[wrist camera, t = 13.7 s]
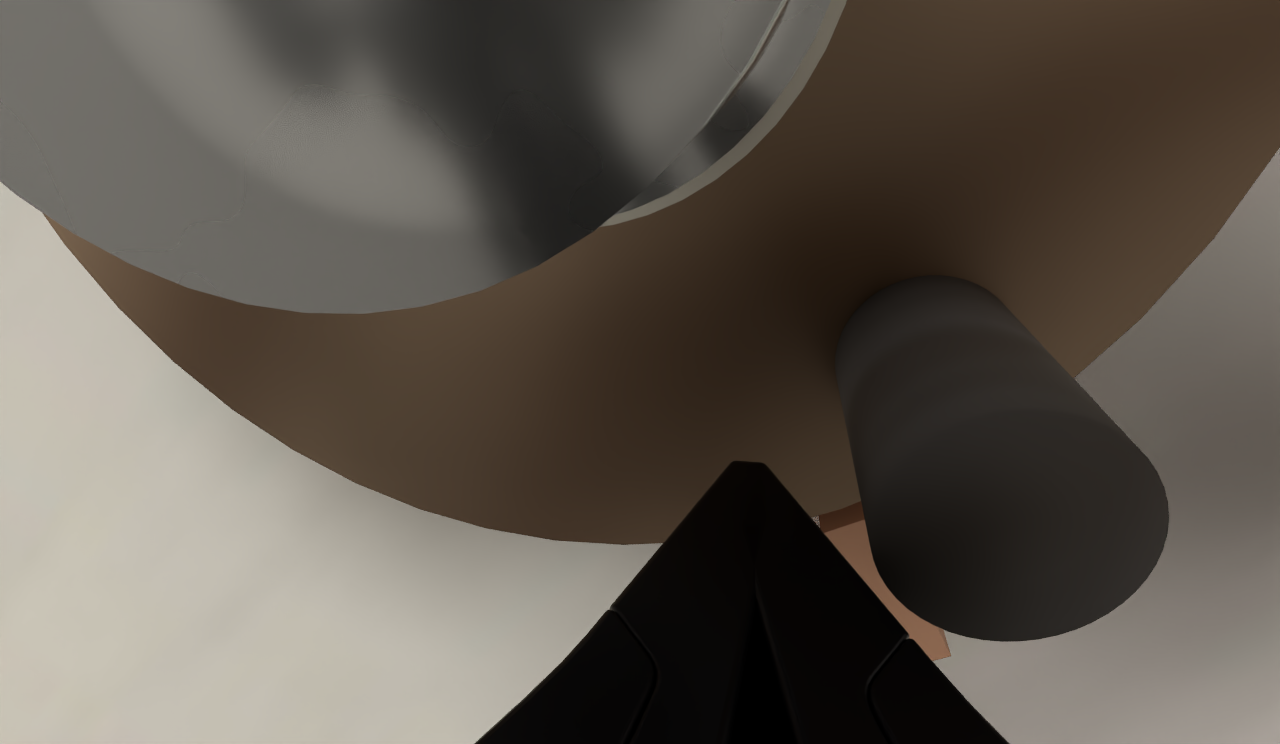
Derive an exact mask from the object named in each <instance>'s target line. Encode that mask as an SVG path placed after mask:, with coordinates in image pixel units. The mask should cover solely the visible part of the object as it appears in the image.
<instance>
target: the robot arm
mask: <svg viewBox="0 0 1280 744" xmlns="http://www.w3.org/2000/svg"><path fill="white" fill-rule="evenodd" d="M909 638H910V636H909V634H908V632H907V631H906V630H905V629H904V628H903V626H902V625H901V624H900V623H899V622H898V620H897V619H896V618H895V617H894V616H893V614H892V613H891V612H890V611H889V610H888V609H887V607H886V606H885V605H884V604H883V603H882V601H881V600H880V599H879V598H878V597H877V595H876V594H875V593H874V592H873V591H872V590H871V588H870V587H869V586H868V585H867V584H866V582H865V581H864V580H863V579H862V578H861V576H860V575H859V574H858V573H857V572H856V571H855V569H854V568H853V567H852V566H851V565H850V563H849V562H848V561H847V560H846V559H845V557H844V556H843V555H842V554H841V553H840V552H839V550H838V549H837V548H836V547H835V546H834V544H833V543H832V542H831V541H830V540H829V538H828V537H827V536H826V535H825V534H824V533H823V531H822V530H821V529H820V528H819V527H818V525H817V524H816V523H815V522H814V521H813V519H812V518H811V517H810V516H809V515H808V514H807V512H806V511H805V510H804V509H803V508H802V506H801V505H800V504H799V503H798V502H797V500H796V499H795V498H794V497H793V496H792V495H791V493H790V492H789V491H788V490H787V489H786V487H785V486H784V485H783V484H782V483H781V481H780V480H779V479H778V478H777V477H776V476H775V474H774V473H773V472H772V471H771V470H770V468H769V467H768V466H767V465H766V464H764V463H762V462H751V461H737V460H736V461H732V462H731V463H730V464H729V465H728V466H727V467H726V469H725V470H724V471H723V472H722V473H721V475H720V476H719V477H718V478H717V479H716V481H715V482H714V483H713V484H712V485H711V487H710V488H709V489H708V490H707V491H706V493H705V494H704V495H703V496H702V497H701V499H700V500H699V501H698V502H697V503H696V505H695V506H694V507H693V508H692V509H691V511H690V512H689V513H688V514H687V515H686V517H685V518H684V519H683V520H682V521H681V523H680V524H679V525H678V526H677V527H676V529H675V530H674V531H673V532H672V533H671V535H670V536H669V537H668V538H667V539H666V541H665V542H664V543H663V544H662V545H661V547H660V548H659V549H658V550H657V551H656V553H655V554H654V555H653V556H652V557H651V559H650V560H649V561H648V562H647V563H646V565H645V566H644V567H643V568H642V569H641V571H640V572H639V573H638V574H637V575H636V577H635V578H634V579H633V580H632V581H631V583H630V584H629V585H628V586H627V587H626V589H625V590H624V591H623V592H622V593H621V595H620V596H619V597H618V598H617V599H616V601H615V602H614V603H613V604H612V605H611V607H610V610H607V611H606V612H605V613H604V614H603V616H602V617H601V618H600V619H599V620H598V622H597V623H596V624H595V625H594V626H593V628H592V629H591V630H590V631H589V633H588V634H587V635H586V636H585V637H584V638H583V639H582V640H581V641H580V642H579V644H578V645H577V646H576V647H575V648H574V649H573V650H572V651H571V652H570V654H569V655H568V656H567V657H566V658H565V659H564V660H563V661H562V662H561V663H560V664H559V665H558V666H557V667H556V668H555V669H554V670H553V671H552V672H551V673H550V674H549V675H548V676H547V677H546V678H545V679H544V680H543V681H542V682H541V683H540V684H539V685H538V686H536V687H535V688H534V689H533V690H532V691H531V692H530V693H529V694H528V695H527V696H526V697H525V698H524V699H523V700H522V701H521V702H520V703H519V704H517V705H516V706H515V707H514V708H513V709H512V710H511V711H510V712H509V713H508V714H506V715H505V716H504V717H503V718H502V719H501V720H500V721H499V722H498V723H497V724H495V725H494V726H493V727H492V728H491V729H490V730H489V731H488V732H487V733H486V734H484V735H483V736H482V737H481V738H480V739H479V740H478V741H477V742H476V743H475V744H1009V743H1008V742H1007V741H1006V740H1005V739H1004V738H1003V737H1002V736H1001V735H1000V734H999V733H998V732H997V731H996V730H995V729H994V728H993V727H992V726H991V725H990V723H989V722H988V721H987V720H986V719H985V718H984V717H983V716H982V715H981V714H980V713H979V712H978V711H977V710H976V709H975V708H974V707H973V706H972V705H971V704H970V703H969V702H968V701H967V700H966V699H965V697H964V696H963V695H962V694H961V693H960V692H959V691H958V690H957V689H956V687H955V686H954V685H953V684H952V683H951V682H950V681H949V680H948V678H947V677H946V676H945V675H944V674H943V673H942V672H941V671H940V669H939V668H938V667H937V666H936V665H935V664H934V663H933V661H932V660H931V659H930V658H929V657H928V656H927V654H926V653H925V652H924V651H923V650H922V648H921V647H920V646H919V645H918V644H917V643H916V641H915V640H914V639H909Z"/></svg>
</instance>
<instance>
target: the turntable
mask: <svg viewBox="0 0 1280 744" xmlns="http://www.w3.org/2000/svg"><path fill="white" fill-rule="evenodd" d="M1279 148H1280V0H831V2H830V4H829V6H828V9H827V11H826V13H825V16H824V18H823V20H822V23H821V25H820V27H819V30H818V32H817V34H816V37H815V39H814V41H813V42H812V44H811V46H810V47H809V49H808V51H807V53H806V54H805V56H804V58H803V60H802V61H801V63H800V65H799V67H798V68H797V70H796V72H795V74H794V75H793V77H792V79H791V80H790V82H789V83H788V84H787V86H786V87H785V88H784V90H783V91H782V92H781V94H780V95H779V97H778V98H777V99H776V101H775V102H774V103H773V105H772V106H771V107H770V109H769V110H768V111H767V113H766V114H765V115H764V117H763V118H762V119H761V120H760V121H759V122H758V123H757V124H756V125H755V126H754V127H753V128H752V129H751V130H750V131H749V132H748V133H747V134H746V135H745V136H744V137H743V138H742V140H741V141H740V142H739V143H738V144H737V145H736V146H735V147H734V148H733V149H731V150H730V151H729V152H728V153H726V154H725V155H724V156H723V157H721V158H720V159H719V160H718V161H717V162H715V163H714V164H713V165H712V166H710V167H709V168H708V169H707V170H705V171H704V172H703V173H702V174H700V175H698V176H697V177H695V178H694V179H692V180H690V181H689V182H687V183H685V184H684V185H682V186H680V187H679V188H677V189H676V190H674V191H672V192H671V193H669V194H667V195H665V196H663V197H660V198H658V199H656V200H654V201H651V202H649V203H647V204H644V205H642V206H640V207H638V208H635V209H633V210H630V211H626V212H623V213H619V214H616V215H613V216H612V217H611V218H609V219H608V220H607V221H606V222H605V223H603V224H602V225H601V226H600V227H599V228H597V229H596V230H595V231H594V232H592V233H591V234H589V235H587V236H586V237H584V238H582V239H581V240H579V241H578V242H576V243H574V244H573V245H571V246H569V247H568V248H566V249H565V250H563V251H561V252H560V253H558V254H556V255H555V256H553V257H552V258H550V259H548V260H547V261H545V262H543V263H542V264H540V265H539V266H537V267H534V268H532V269H530V270H527V271H525V272H523V273H520V274H518V275H516V276H514V277H511V278H509V279H507V280H504V281H502V282H500V283H497V284H495V285H493V286H490V287H488V288H486V289H484V290H481V291H478V292H474V293H471V294H467V295H463V296H460V297H456V298H452V299H449V300H445V301H441V302H438V303H434V304H430V305H426V306H423V307H416V308H407V309H399V310H391V311H383V312H375V313H367V314H339V313H302V312H295V311H288V310H282V309H275V308H268V307H262V306H255V305H248V304H244V303H240V302H237V301H233V300H229V299H226V298H222V297H219V296H215V295H211V294H208V293H204V292H201V291H197V290H194V289H190V288H187V287H184V286H182V285H180V284H177V283H175V282H172V281H170V280H167V279H165V278H162V277H160V276H158V275H155V274H153V273H150V272H148V271H145V270H143V269H140V268H138V267H136V266H133V265H131V264H129V263H127V262H125V261H123V260H121V259H120V258H118V257H116V256H114V255H112V254H110V253H108V252H107V251H105V250H103V249H101V248H99V247H97V246H96V245H94V244H92V243H90V242H88V241H86V240H84V239H83V238H81V237H79V236H77V235H75V234H73V233H72V232H70V231H69V230H68V229H66V228H65V227H63V226H62V225H60V224H59V223H57V222H56V221H54V220H53V219H51V218H50V217H48V216H47V215H45V214H44V213H43V214H44V216H45V217H46V219H47V220H48V221H49V223H50V224H51V226H52V227H53V228H54V230H55V231H56V233H57V234H58V236H59V237H60V238H61V240H62V241H63V243H64V244H65V245H66V246H67V248H68V249H69V250H70V251H71V252H72V254H73V255H74V256H75V257H76V258H77V259H78V261H79V262H80V263H81V264H82V265H83V266H84V268H85V269H86V270H87V271H88V272H89V274H90V275H91V276H92V277H93V278H94V279H95V281H96V282H97V283H98V284H99V285H100V286H101V288H102V289H103V290H104V291H105V292H106V294H107V295H108V296H109V297H110V298H111V299H112V301H113V302H114V303H115V304H116V305H117V306H118V308H119V309H120V310H121V311H123V312H124V313H125V314H126V315H127V316H128V317H129V318H130V319H131V320H132V321H133V322H134V323H135V324H136V325H137V326H138V327H139V328H140V329H141V330H142V331H143V332H144V333H145V334H146V335H147V336H148V337H149V338H150V339H151V340H152V341H153V342H154V343H155V344H156V345H157V346H158V347H159V348H160V349H161V350H162V351H163V352H164V353H165V354H166V355H167V356H168V357H169V358H170V359H171V360H172V361H174V362H175V363H176V364H177V365H178V366H180V367H181V368H182V369H183V370H184V371H186V372H187V373H188V374H189V375H191V376H192V377H193V378H194V379H196V380H197V381H198V382H199V383H200V384H202V385H203V386H204V387H205V388H207V389H208V390H209V391H210V392H212V393H213V394H214V395H215V396H216V397H218V398H219V399H220V400H221V401H223V402H224V403H225V404H226V405H228V406H229V407H230V408H231V409H232V410H234V411H235V412H237V413H239V414H240V415H242V416H243V417H245V418H246V419H248V420H249V421H251V422H252V423H254V424H255V425H257V426H258V427H260V428H261V429H263V430H264V431H266V432H267V433H269V434H270V435H272V436H273V437H275V438H276V439H278V440H279V441H281V442H282V443H284V444H285V445H287V446H288V447H290V448H291V449H293V450H294V451H296V452H298V453H300V454H302V455H304V456H306V457H308V458H310V459H311V460H313V461H315V462H317V463H319V464H321V465H323V466H325V467H327V468H328V469H330V470H332V471H334V472H336V473H338V474H340V475H342V476H343V477H345V478H347V479H349V480H351V481H353V482H355V483H357V484H359V485H362V486H364V487H367V488H369V489H372V490H374V491H377V492H379V493H382V494H384V495H387V496H389V497H391V498H394V499H396V500H399V501H401V502H404V503H406V504H409V505H411V506H414V507H416V508H419V509H421V510H425V511H428V512H432V513H435V514H439V515H442V516H446V517H449V518H453V519H456V520H459V521H463V522H466V523H470V524H473V525H477V526H480V527H484V528H488V529H493V530H499V531H505V532H510V533H516V534H522V535H528V536H533V537H539V538H545V539H550V540H559V541H574V542H590V543H606V544H621V545H628V544H649V543H664V542H665V541H666V539H667V538H668V537H669V536H670V535H671V533H672V532H673V531H674V530H675V529H676V527H677V526H678V525H679V524H680V523H681V521H682V520H683V519H684V518H685V517H686V515H687V514H688V513H689V512H690V511H691V509H692V508H693V507H694V506H695V505H696V503H697V502H698V501H699V500H700V499H701V497H702V496H703V495H704V494H705V493H706V491H707V490H708V489H709V488H710V487H711V485H712V484H713V483H714V482H715V481H716V479H717V478H718V477H719V476H720V475H721V473H722V472H723V471H724V470H725V469H726V467H727V466H728V465H729V464H730V463H731V462H732V461H736V460H737V461H751V462H762V463H764V464H766V465H767V466H768V467H769V468H770V470H771V471H772V472H773V473H774V474H775V476H776V477H777V478H778V479H779V480H780V481H781V483H782V484H783V485H784V486H785V487H786V489H787V490H788V491H789V492H790V493H791V495H792V496H793V497H794V498H795V499H796V500H797V502H798V503H799V504H800V505H801V506H802V508H803V509H804V510H805V511H806V512H807V514H808V515H809V516H810V517H814V516H818V515H821V514H825V513H829V512H832V511H836V510H839V509H842V508H845V507H847V506H850V505H852V504H855V503H857V502H860V501H861V503H862V508H863V513H864V518H865V523H866V528H867V533H868V538H869V543H870V548H871V552H872V557H873V561H874V563H875V566H876V568H877V571H878V573H879V575H880V577H881V578H882V580H883V582H884V583H885V585H886V587H887V588H888V589H889V590H890V592H891V593H892V594H893V595H894V596H895V598H896V599H897V600H898V601H899V602H901V603H902V604H903V605H904V606H905V607H906V608H907V609H908V610H910V611H911V612H913V613H914V614H915V615H917V616H918V617H920V618H921V619H923V620H925V621H927V622H929V623H930V624H932V625H934V626H936V627H939V628H941V629H944V630H946V631H949V632H951V633H955V634H958V635H962V636H965V637H970V638H976V639H981V640H990V641H1027V640H1036V639H1042V638H1047V637H1051V636H1056V635H1060V634H1063V633H1066V632H1069V631H1073V630H1075V629H1078V628H1080V627H1083V626H1085V625H1087V624H1090V623H1092V622H1094V621H1096V620H1097V619H1099V618H1101V617H1103V616H1105V615H1106V614H1108V613H1110V612H1111V611H1112V610H1114V609H1115V608H1117V607H1118V606H1119V605H1121V604H1122V603H1123V602H1125V601H1126V600H1127V599H1128V598H1129V597H1130V596H1131V595H1132V594H1133V593H1135V592H1136V591H1137V589H1138V588H1139V587H1140V586H1141V585H1142V584H1143V582H1144V581H1145V580H1146V579H1147V578H1148V576H1149V575H1150V573H1151V571H1152V570H1153V568H1154V567H1155V565H1156V564H1157V561H1158V559H1159V557H1160V555H1161V553H1162V550H1163V548H1164V544H1165V540H1166V537H1167V532H1168V522H1169V512H1168V501H1167V497H1166V493H1165V489H1164V486H1163V484H1162V482H1161V479H1160V477H1159V475H1158V473H1157V471H1156V470H1155V468H1154V467H1153V465H1152V464H1151V462H1150V461H1149V459H1148V458H1147V457H1146V456H1145V455H1144V454H1143V452H1142V451H1141V450H1140V449H1139V448H1138V447H1137V446H1136V445H1135V444H1134V443H1133V442H1132V441H1131V440H1130V439H1129V438H1128V436H1127V435H1126V434H1125V433H1124V432H1123V431H1122V430H1121V429H1120V428H1119V427H1118V426H1117V425H1116V424H1115V423H1114V421H1113V420H1112V419H1111V418H1110V417H1109V416H1108V415H1107V414H1106V413H1105V412H1104V411H1103V410H1102V409H1101V408H1100V407H1099V405H1098V404H1097V403H1096V402H1095V401H1094V400H1093V399H1092V398H1091V397H1090V396H1089V395H1088V394H1087V393H1086V392H1085V390H1084V389H1083V388H1082V387H1081V386H1080V385H1079V384H1078V383H1077V382H1076V381H1075V380H1074V379H1073V378H1074V377H1076V376H1077V375H1078V374H1079V373H1080V372H1081V371H1082V370H1083V369H1085V368H1086V367H1087V366H1088V365H1089V364H1090V363H1091V362H1093V361H1094V360H1095V359H1096V358H1097V357H1098V356H1099V355H1100V354H1102V353H1103V352H1104V351H1105V350H1106V349H1107V348H1108V347H1110V346H1111V345H1112V344H1113V343H1114V342H1115V341H1116V340H1117V339H1119V338H1120V337H1121V336H1122V335H1123V334H1124V333H1125V332H1126V331H1128V330H1129V329H1130V328H1131V327H1132V326H1133V325H1134V324H1136V323H1137V322H1138V321H1139V320H1140V319H1141V318H1142V317H1143V316H1144V315H1145V314H1146V313H1147V312H1148V310H1149V309H1150V308H1151V307H1152V306H1153V305H1154V304H1155V303H1156V302H1157V300H1158V299H1159V298H1160V297H1161V296H1162V295H1163V294H1164V293H1165V292H1166V291H1167V289H1168V288H1169V287H1170V286H1171V285H1172V284H1173V283H1174V282H1175V281H1176V280H1177V278H1178V277H1179V276H1180V275H1181V274H1182V273H1183V272H1184V271H1185V270H1186V268H1187V267H1188V266H1189V265H1190V264H1191V263H1192V262H1193V261H1194V260H1195V259H1196V257H1197V256H1198V255H1199V254H1200V253H1201V252H1202V251H1203V250H1204V249H1205V248H1206V246H1207V245H1208V244H1209V243H1210V242H1211V241H1212V240H1213V239H1214V237H1215V236H1216V235H1217V233H1218V232H1219V230H1220V229H1221V228H1222V226H1223V225H1224V224H1225V222H1226V221H1227V219H1228V218H1229V217H1230V215H1231V214H1232V212H1233V211H1234V210H1235V208H1236V207H1237V206H1238V204H1239V203H1240V201H1241V200H1242V199H1243V197H1244V196H1245V195H1246V193H1247V192H1248V190H1249V189H1250V188H1251V186H1252V185H1253V183H1254V182H1255V181H1256V179H1257V178H1258V177H1259V175H1260V174H1261V172H1262V171H1263V170H1264V168H1265V167H1266V166H1267V164H1268V163H1269V161H1270V160H1271V159H1272V157H1273V156H1274V155H1275V153H1276V152H1277V150H1278V149H1279Z"/></svg>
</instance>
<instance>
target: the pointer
mask: <svg viewBox="0 0 1280 744" xmlns="http://www.w3.org/2000/svg"><path fill="white" fill-rule="evenodd" d="M819 521H820V529H821V530H822V531H823V533H824V534H825V535H826V536H827V537H828V538H829V540H830V541H831V542H832V543H833V544H834V546H835V547H836V548H837V549H838V550H839V552H840V553H841V554H842V555H843V556H844V557H845V559H846V560H847V561H848V562H849V563H850V565H851V566H852V567H853V568H854V569H855V571H856V572H857V573H858V574H859V575H860V576H861V578H862V579H863V580H864V581H865V582H866V584H867V585H868V586H869V587H870V588H871V590H872V591H873V592H874V593H875V594H876V595H877V597H878V598H879V599H880V600H881V601H882V603H883V604H884V605H885V606H886V607H887V609H888V610H889V611H890V612H891V613H892V614H893V616H894V617H895V618H896V619H897V620H898V622H899V623H900V624H901V625H902V626H903V628H904V629H905V630H906V631H907V632H908V634H909V636H910V638H909V639H914V640H915V641H916V643H917V644H918V645H919V646H920V647H921V648H922V650H923V651H924V652H925V653H926V654H927V656H928V657H929V658H930V659H931V660H932V661H934V660H938V659H942V658H946V657H949V656H951V654H950V651H949V647H948V644H947V641H946V637H945V634H944V631H943V629H941V628H939V627H936V626H934V625H932V624H930V623H929V622H927V621H925V620H923V619H921V618H920V617H918V616H917V615H915V614H914V613H913V612H911V611H910V610H908V609H907V608H906V607H905V606H904V605H903V604H902V603H901V602H899V601H898V600H897V599H896V598H895V596H894V595H893V594H892V593H891V592H890V590H889V589H888V588H887V587H886V585H885V583H884V582H883V580H882V578H881V577H880V575H879V573H878V571H877V568H876V566H875V563H874V561H873V557H872V552H871V548H870V543H869V538H868V533H867V528H866V523H865V518H864V513H863V508H862V503H861V501H860V502H857V503H855V504H852V505H850V506H847V507H845V508H842V509H839V510H836V511H832V512H829V513H825V514H821V515H819Z"/></svg>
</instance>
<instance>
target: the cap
mask: <svg viewBox="0 0 1280 744" xmlns="http://www.w3.org/2000/svg"><path fill="white" fill-rule="evenodd" d="M830 2H831V0H0V182H2V183H3V184H4V185H5V186H7V187H8V188H9V189H10V190H11V191H13V192H14V193H15V194H16V195H17V196H19V197H20V198H22V199H23V200H25V201H26V202H28V203H29V204H31V205H32V206H34V207H35V208H37V209H38V210H40V211H41V212H42V213H44V214H45V215H47V216H48V217H50V218H51V219H53V220H54V221H56V222H57V223H59V224H60V225H62V226H63V227H65V228H66V229H68V230H69V231H70V232H72V233H73V234H75V235H77V236H79V237H81V238H83V239H84V240H86V241H88V242H90V243H92V244H94V245H96V246H97V247H99V248H101V249H103V250H105V251H107V252H108V253H110V254H112V255H114V256H116V257H118V258H120V259H121V260H123V261H125V262H127V263H129V264H131V265H133V266H136V267H138V268H140V269H143V270H145V271H148V272H150V273H153V274H155V275H158V276H160V277H162V278H165V279H167V280H170V281H172V282H175V283H177V284H180V285H182V286H184V287H187V288H190V289H194V290H197V291H201V292H204V293H208V294H211V295H215V296H219V297H222V298H226V299H229V300H233V301H237V302H240V303H244V304H248V305H255V306H262V307H268V308H275V309H282V310H288V311H295V312H302V313H339V314H367V313H375V312H383V311H391V310H399V309H407V308H416V307H423V306H426V305H430V304H434V303H438V302H441V301H445V300H449V299H452V298H456V297H460V296H463V295H467V294H471V293H474V292H478V291H481V290H484V289H486V288H488V287H490V286H493V285H495V284H497V283H500V282H502V281H504V280H507V279H509V278H511V277H514V276H516V275H518V274H520V273H523V272H525V271H527V270H530V269H532V268H534V267H537V266H539V265H540V264H542V263H543V262H545V261H547V260H548V259H550V258H552V257H553V256H555V255H556V254H558V253H560V252H561V251H563V250H565V249H566V248H568V247H569V246H571V245H573V244H574V243H576V242H578V241H579V240H581V239H582V238H584V237H586V236H587V235H589V234H591V233H592V232H594V231H595V230H596V229H597V228H599V227H600V226H601V225H602V224H603V223H605V222H606V221H607V220H608V219H609V218H611V217H612V216H613V215H616V214H619V213H623V212H626V211H630V210H633V209H635V208H638V207H640V206H642V205H644V204H647V203H649V202H651V201H654V200H656V199H658V198H660V197H663V196H665V195H667V194H669V193H671V192H672V191H674V190H676V189H677V188H679V187H680V186H682V185H684V184H685V183H687V182H689V181H690V180H692V179H694V178H695V177H697V176H698V175H700V174H702V173H703V172H704V171H705V170H707V169H708V168H709V167H710V166H712V165H713V164H714V163H715V162H717V161H718V160H719V159H720V158H721V157H723V156H724V155H725V154H726V153H728V152H729V151H730V150H731V149H733V148H734V147H735V146H736V145H737V144H738V143H739V142H740V141H741V140H742V138H743V137H744V136H745V135H746V134H747V133H748V132H749V131H750V130H751V129H752V128H753V127H754V126H755V125H756V124H757V123H758V122H759V121H760V120H761V119H762V118H763V117H764V115H765V114H766V113H767V111H768V110H769V109H770V107H771V106H772V105H773V103H774V102H775V101H776V99H777V98H778V97H779V95H780V94H781V92H782V91H783V90H784V88H785V87H786V86H787V84H788V83H789V82H790V80H791V79H792V77H793V75H794V74H795V72H796V70H797V68H798V67H799V65H800V63H801V61H802V60H803V58H804V56H805V54H806V53H807V51H808V49H809V47H810V46H811V44H812V42H813V41H814V39H815V37H816V34H817V32H818V30H819V27H820V25H821V23H822V20H823V18H824V16H825V13H826V11H827V9H828V6H829V4H830Z"/></svg>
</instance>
